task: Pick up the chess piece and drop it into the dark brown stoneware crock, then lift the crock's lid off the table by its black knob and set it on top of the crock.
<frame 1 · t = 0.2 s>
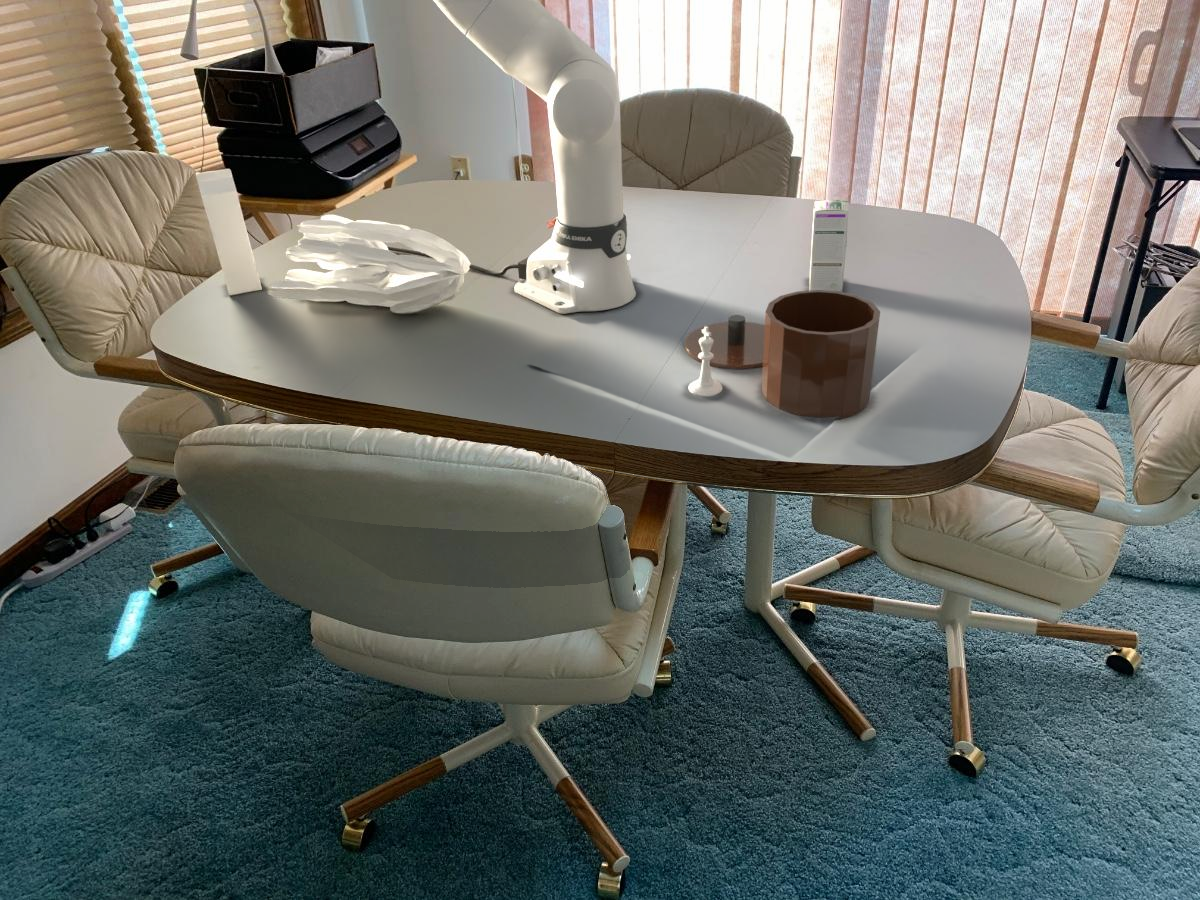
lid: (736, 345, 140), point 1 cm above the table
crock: (815, 394, 127), on the table
syrup box: (825, 287, 160), on the table
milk: (244, 288, 174), on the table
chess piece: (705, 392, 130), on the table
white jagged lobed bundle: (377, 306, 163), on the table
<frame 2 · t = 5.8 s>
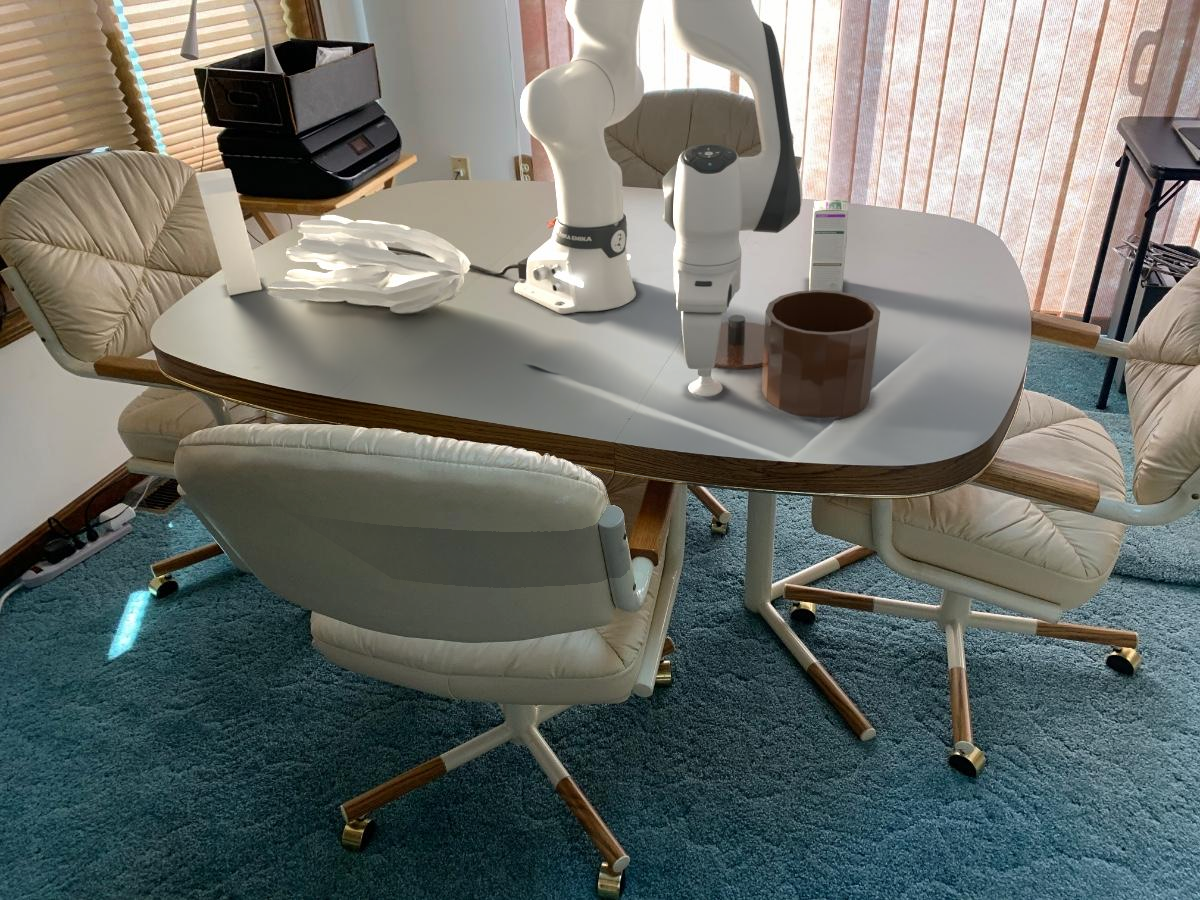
hand: (705, 369, 128), 4 cm above the table, tool pointing down, fingers closed on chess piece
chess piece: (705, 392, 130), on the table, touching gripper
everything else where it was.
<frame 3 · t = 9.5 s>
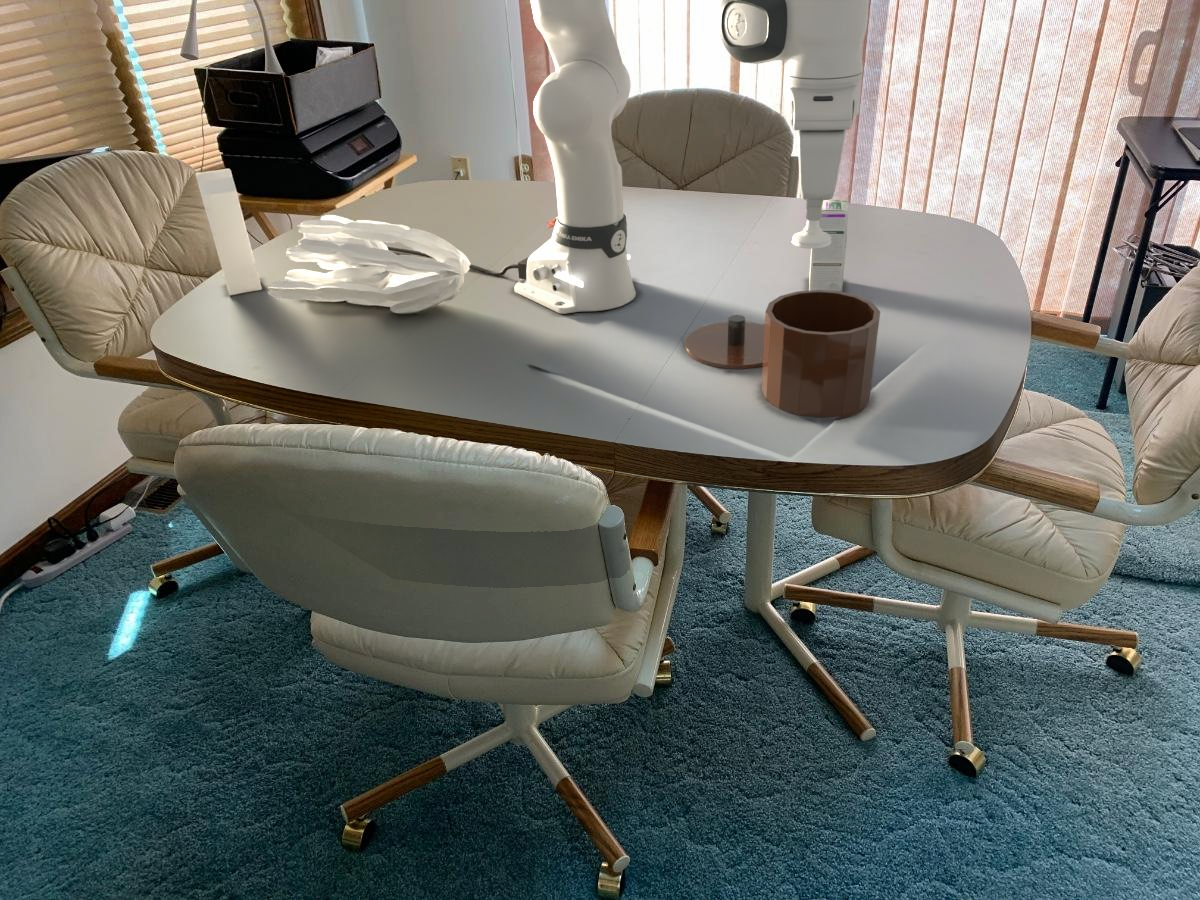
hand: (813, 214, 114), 26 cm above the table, tool pointing down, fingers closed on chess piece
chess piece: (811, 243, 116), point 22 cm above the table, touching gripper
everything else where it was.
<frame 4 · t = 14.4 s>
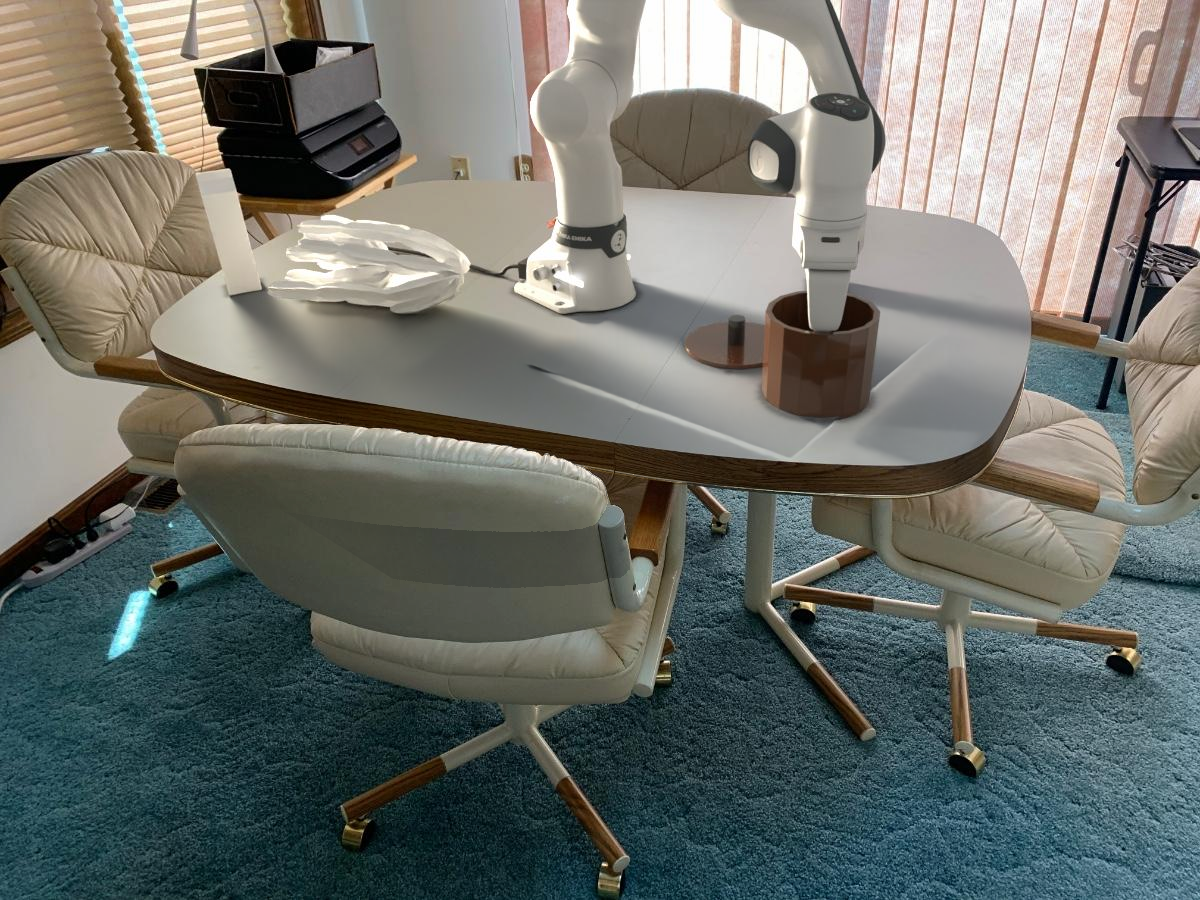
hand: (819, 333, 122), 9 cm above the table, tool pointing down, fingers open, 8 cm apart
chess piece: (814, 391, 127), resting on crock
everything else where it was.
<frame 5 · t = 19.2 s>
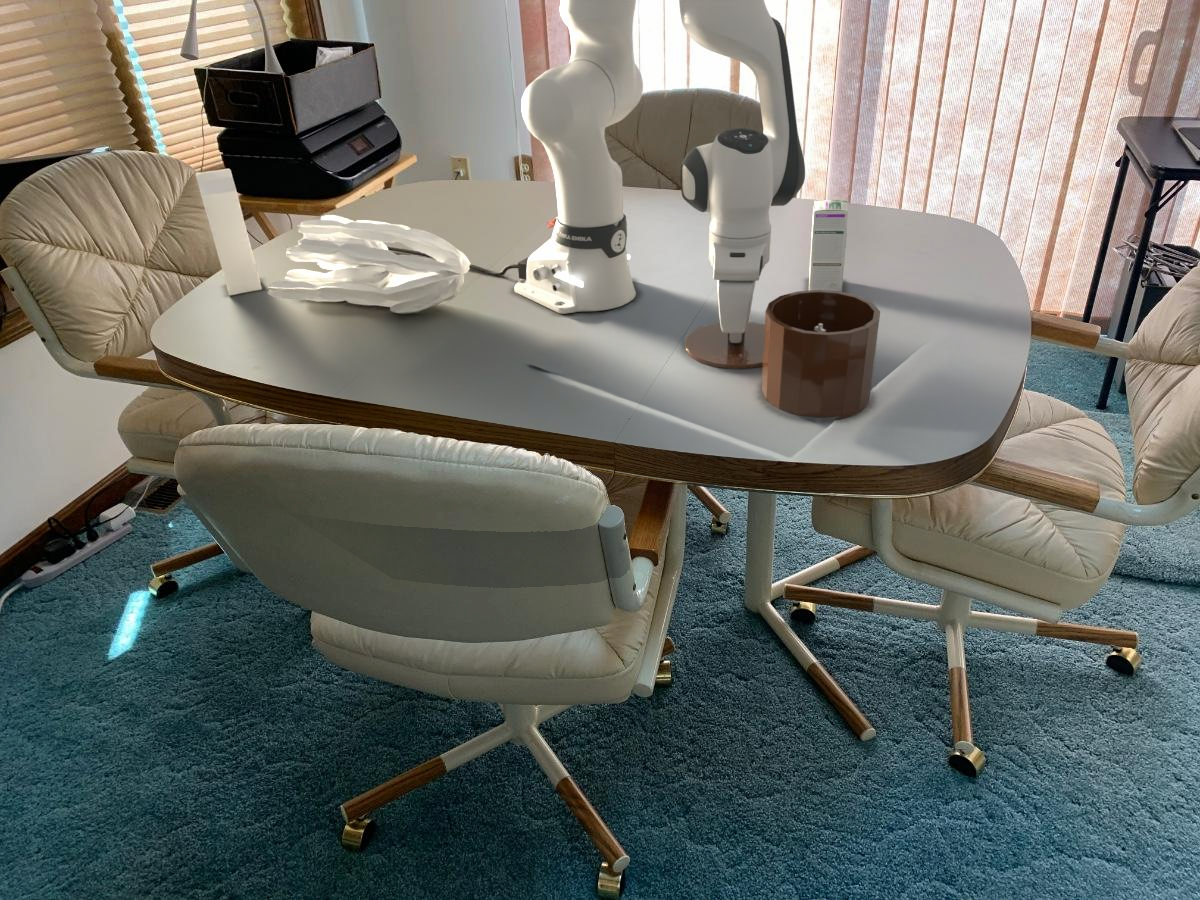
hand: (736, 335, 140), 2 cm above the table, tool pointing down, fingers closed on lid, 2 cm apart
lid: (736, 345, 140), point 1 cm above the table, touching gripper
everything else where it was.
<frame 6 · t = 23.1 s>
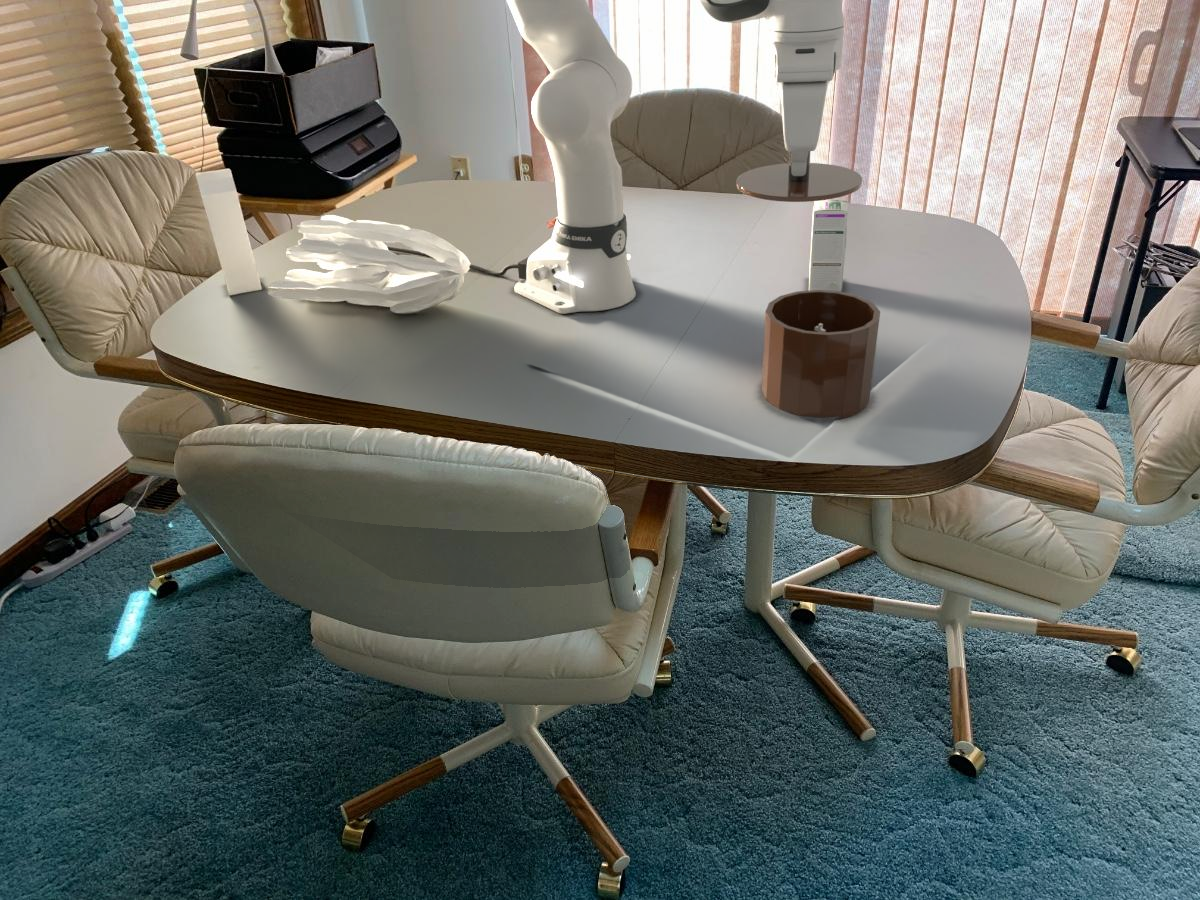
hand: (798, 170, 116), 30 cm above the table, tool pointing down, fingers closed on lid, 2 cm apart
lid: (798, 183, 117), point 28 cm above the table, touching gripper
everything else where it was.
when the fingers open (14 cm above the table, at t = 27.3 s): lid stays where it is, resting on crock.
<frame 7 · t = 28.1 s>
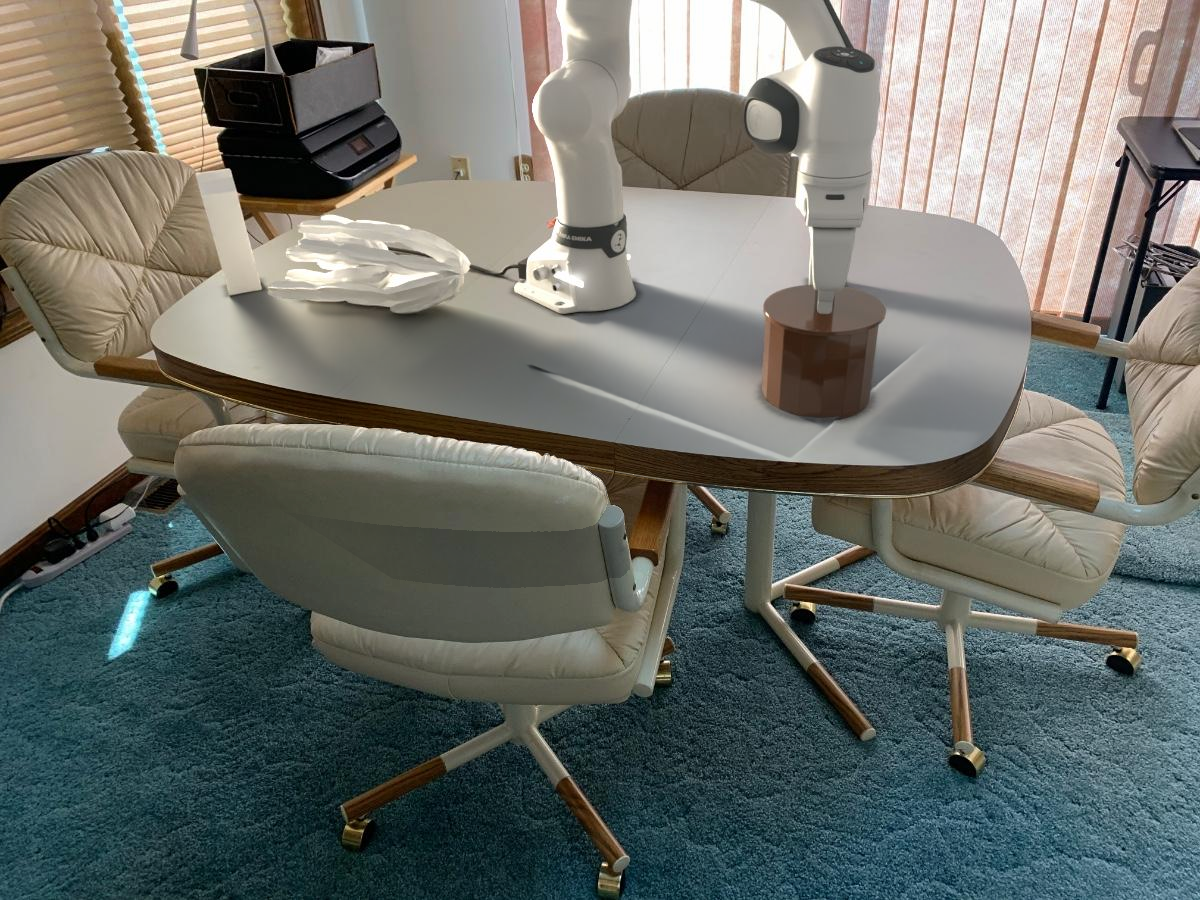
hand: (823, 297, 120), 15 cm above the table, tool pointing down, fingers open, 8 cm apart
lid: (823, 310, 121), point 13 cm above the table, touching crock
everything else where it was.
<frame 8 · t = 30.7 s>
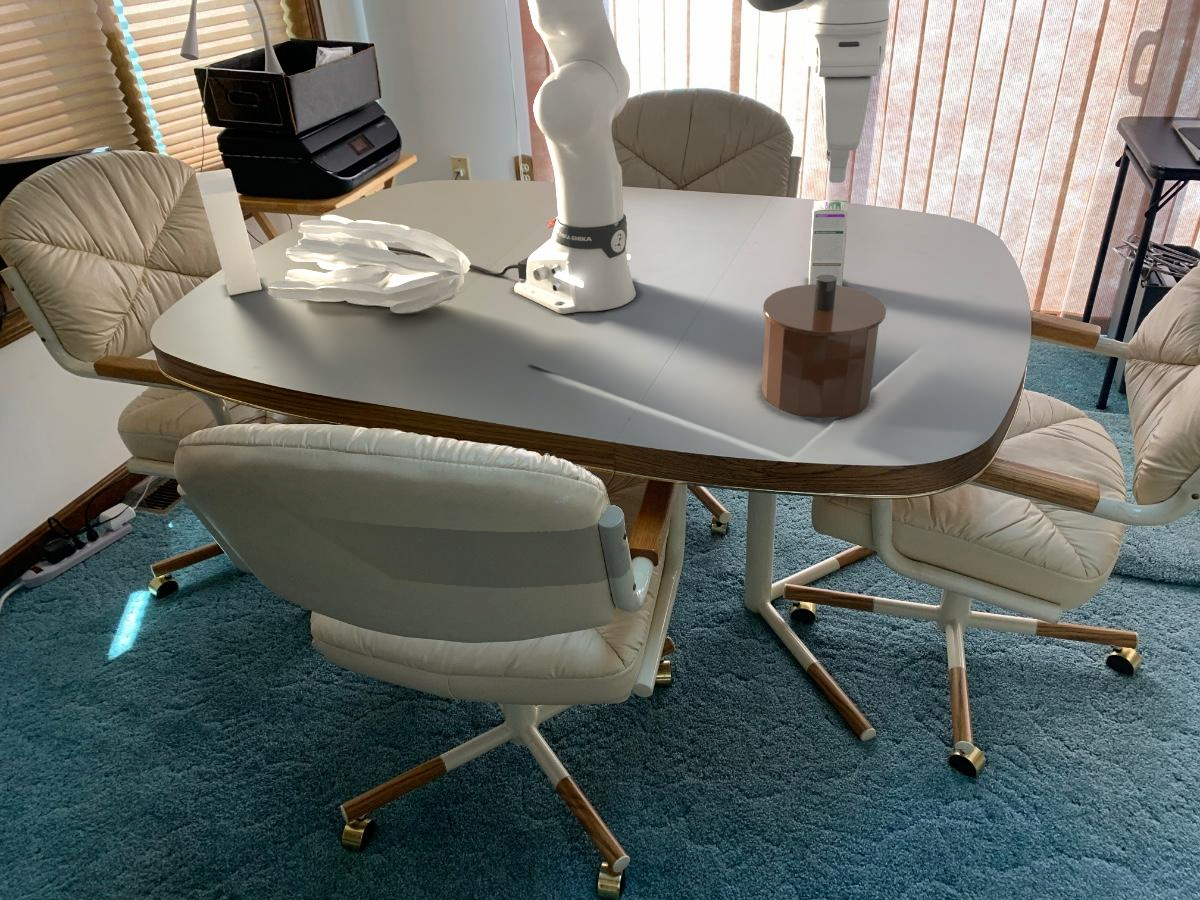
hand: (835, 170, 111), 31 cm above the table, tool pointing down, fingers open, 8 cm apart
nothing on the table moved.
at the end: chess piece inside the target area in the crock (0.3 cm from its centre), point 0.4 cm above the crock's base; lid 0.1 cm off-centre on the crock, point 12.6 cm above the crock's base; lid tilted 0° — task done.
